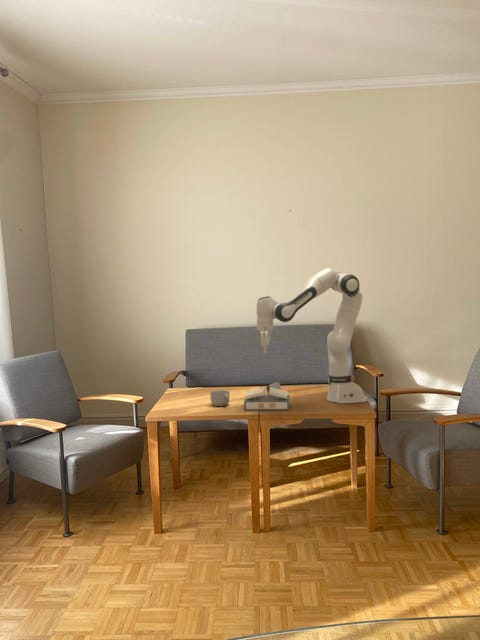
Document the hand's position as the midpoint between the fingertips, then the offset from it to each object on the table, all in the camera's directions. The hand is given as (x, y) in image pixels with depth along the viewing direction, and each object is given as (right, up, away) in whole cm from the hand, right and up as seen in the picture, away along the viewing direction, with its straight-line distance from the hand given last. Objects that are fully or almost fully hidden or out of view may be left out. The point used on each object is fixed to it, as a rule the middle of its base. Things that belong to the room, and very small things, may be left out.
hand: (265, 352), depth 298 cm
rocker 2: (+7, -23, +1) cm, 24 cm away
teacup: (-24, -31, +10) cm, 40 cm away
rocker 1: (-5, -23, +3) cm, 24 cm away
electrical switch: (+6, -29, +22) cm, 37 cm away
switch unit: (+1, -30, +3) cm, 30 cm away
